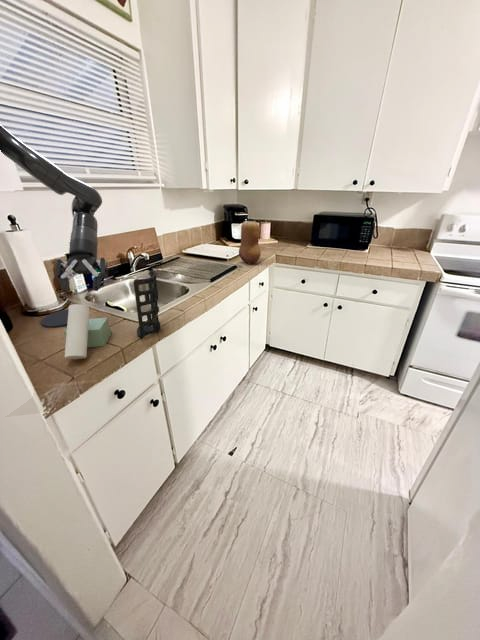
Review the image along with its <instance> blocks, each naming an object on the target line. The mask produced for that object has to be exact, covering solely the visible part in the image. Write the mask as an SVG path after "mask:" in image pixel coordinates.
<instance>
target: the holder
mask: <svg viewBox="0 0 480 640" xmlns="http://www.w3.org/2000/svg"><path fill="white" fill-rule="evenodd" d="M149 272H150V276H149V277H147V278H139V279H137V278H136V279H134V280H133V288H134V289H133V291H134V297H135V305H136V312H137V320H138V327H137V328H136V335H137V336H138V337H139V338H140V339H142V338H144V337H146V336H150V335H153V334H154V333H158V332H160V330H161V322H160V320H159V313H160V308H159V305H158V301H159V290H158V288H157V287H158V286H157V282H158V279H157V273H156V272H155V271H154V270H150V271H149ZM147 284H148V287H149V288H148V289H147V290H146V289H145V290H140V287H139V286H141V285H147ZM141 296H144V301H141V298H140V297H141ZM148 305H150V309H149V310H146V311H142V307H144V306H148ZM145 316H146V320H145V321H143V317H145Z"/></svg>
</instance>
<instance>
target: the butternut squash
mask: <svg viewBox="0 0 480 640" xmlns="http://www.w3.org/2000/svg"><path fill="white" fill-rule="evenodd" d="M260 233H261V227H260V224H259V223H258V222H256V221H252V220H245V221H243V222H242V223H241V226H240V246H239V249H238V255H239V257H240V260H241V261H242V262H244V263H245V264H247V265H252V264H255V263H256V262H258V260H259V259H260V258H261V254H262V253H261V251H262V250H261V248H260V244H259V240H260V236H261V235H260ZM248 263H250V264H248Z"/></svg>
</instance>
